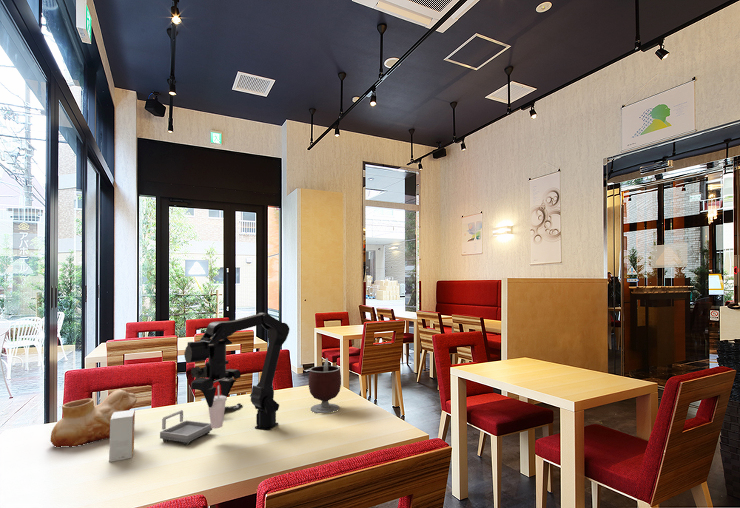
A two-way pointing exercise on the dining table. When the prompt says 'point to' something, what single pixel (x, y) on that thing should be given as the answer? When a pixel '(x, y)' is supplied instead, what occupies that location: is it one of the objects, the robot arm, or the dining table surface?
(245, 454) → the dining table surface
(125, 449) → the small box
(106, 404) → the ceramic vessel
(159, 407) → the dining table surface
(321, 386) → the mate gourd
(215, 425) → the smoothie
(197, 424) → the grey tray
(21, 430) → the dining table surface
